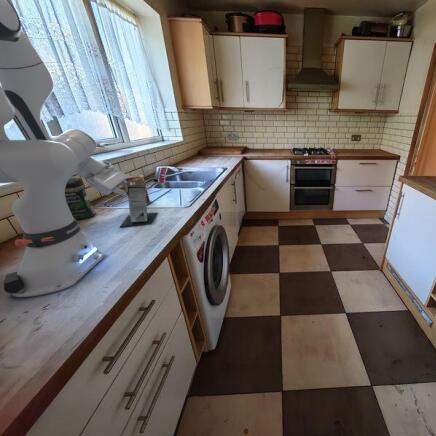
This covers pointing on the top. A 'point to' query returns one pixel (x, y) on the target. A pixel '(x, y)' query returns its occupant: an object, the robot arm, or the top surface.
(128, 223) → the mat
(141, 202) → the coffee box
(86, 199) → the dark green food bag
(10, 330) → the top surface
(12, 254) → the top surface
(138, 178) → the candy box
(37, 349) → the top surface
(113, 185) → the robot arm
